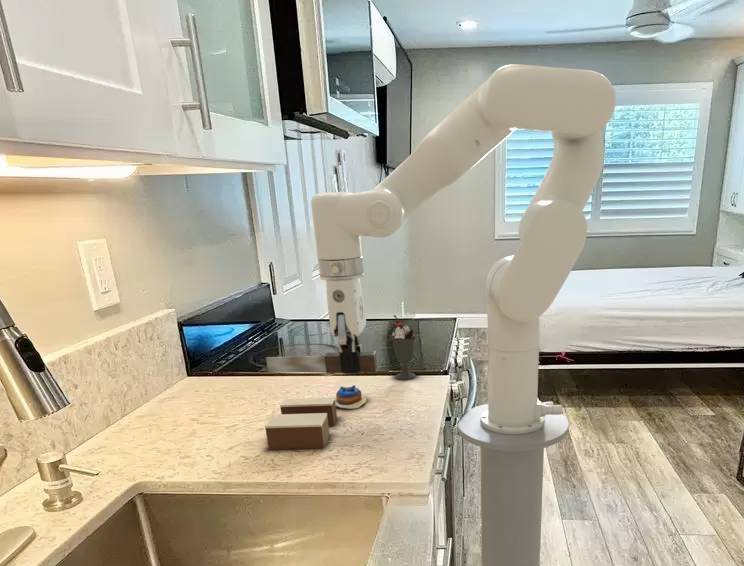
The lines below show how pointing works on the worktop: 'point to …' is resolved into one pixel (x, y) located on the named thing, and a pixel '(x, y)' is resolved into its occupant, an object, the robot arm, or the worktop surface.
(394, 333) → the sundae
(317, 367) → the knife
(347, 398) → the dessert
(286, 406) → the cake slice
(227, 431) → the worktop surface
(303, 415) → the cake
